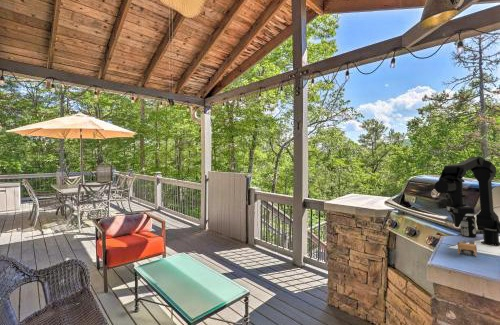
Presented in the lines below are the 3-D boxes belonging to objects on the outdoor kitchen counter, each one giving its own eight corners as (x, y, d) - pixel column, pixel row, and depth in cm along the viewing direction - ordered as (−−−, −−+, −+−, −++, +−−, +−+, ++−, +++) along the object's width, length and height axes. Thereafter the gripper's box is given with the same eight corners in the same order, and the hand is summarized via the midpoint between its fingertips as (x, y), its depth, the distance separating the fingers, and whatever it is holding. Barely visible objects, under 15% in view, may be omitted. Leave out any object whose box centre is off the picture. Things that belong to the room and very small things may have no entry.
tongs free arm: (466, 252, 120) (466, 248, 120) (461, 251, 121) (460, 247, 121) (465, 244, 132) (465, 240, 132) (460, 243, 133) (460, 240, 133)
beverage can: (475, 235, 147) (473, 213, 148) (477, 238, 142) (476, 215, 142) (460, 234, 151) (458, 213, 151) (461, 237, 145) (460, 215, 146)
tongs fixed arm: (473, 256, 115) (473, 251, 115) (461, 254, 118) (461, 249, 118) (474, 245, 130) (474, 241, 130) (463, 244, 133) (463, 239, 133)
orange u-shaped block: (476, 256, 114) (476, 246, 115) (458, 253, 119) (457, 244, 119) (476, 254, 117) (476, 244, 117) (458, 251, 121) (457, 242, 121)
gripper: (426, 190, 132) (428, 222, 132) (444, 194, 114) (445, 230, 114) (452, 190, 129) (454, 223, 129) (474, 194, 111) (476, 231, 111)
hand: (456, 226), depth 121 cm, fingers closed
